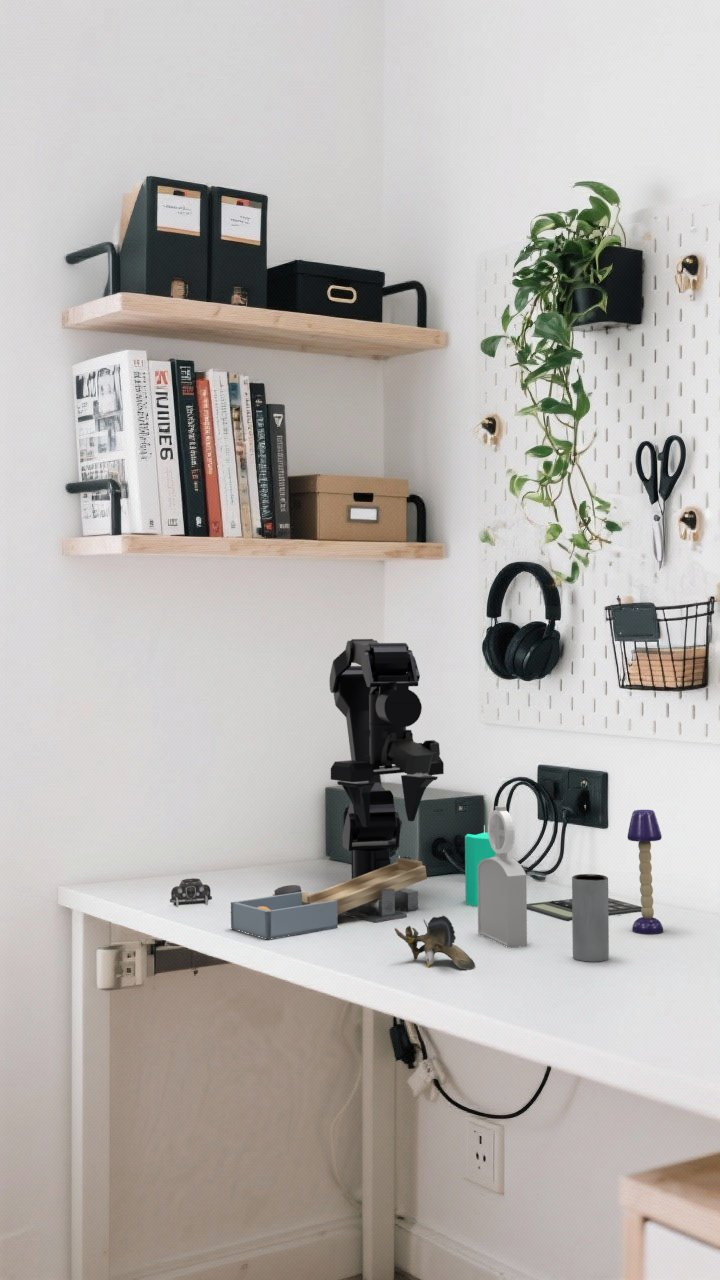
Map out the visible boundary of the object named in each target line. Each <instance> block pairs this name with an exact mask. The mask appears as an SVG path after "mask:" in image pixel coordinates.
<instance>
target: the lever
mask: <svg viewBox="0 0 720 1280" xmlns="http://www.w3.org/2000/svg"><path fill="white" fill-rule="evenodd" d="M427 879H428V876H427V871H426V865H423V861H420V860H416V859H411V858H405V857H399V858H397V861H395V862H393V863H391V864H390V865H388V866H385V867H382V868H380V869H377V870H375V871H372V872H369V873H367V874H364V875H361V876H359V877H356V878H354V879H352V878H351V879H349V880H346V882H345V881H343V882H340V883H338V884H336V885H332V886H330V887H327V888H325V889H322V890H320V891H317V892H315V893H309V892H305V891H302V889H301V888H302V887H301V885H297V884H288V885H283V886H280V887H278V888H276V889H275V890H274V893H272V894H271V896H277V895H283V894H290V893H297V892H302V905H308V904H314V903H321V902H327V901H333V900H336V901H337V915H341V914H340V913H342V912H345V911H347V910H350V909H352V908H355V907H357V906H360V905H362V904H365V903H367V902H370V901H372V900H375V899H377V898H378V890H384V889H395V891H397V890H400V889H402V888H405V889H406V888H407V887H410V886H412V885H414V884H417V883H420V882H422V881H425V880H427Z"/></svg>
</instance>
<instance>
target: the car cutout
mask: <svg viewBox="0 0 720 1280" xmlns="http://www.w3.org/2000/svg"><path fill="white" fill-rule="evenodd" d="M170 897H171V898H170V899H169V903H171V904H172V903H173V905H174V906H176V907H177V908H179V906H187V905H198V904H199V905H202V904H206V905H207V906H208V905H209V901H211V900H213V896H211V887H210V886H209V885H208V884H203V882H202V880H201V879H200V878H193V877H191V878H185V879H182V880H181V881H180V883H179V884H178V885H176V886H174V887H173V888H172V889H171V892H170Z"/></svg>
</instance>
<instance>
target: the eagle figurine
mask: <svg viewBox="0 0 720 1280" xmlns="http://www.w3.org/2000/svg"><path fill="white" fill-rule="evenodd" d="M423 923H424V925H425V927H426V933H424V934H420V935H419V932H418V931H417V929H416V928H414V927H411V925H408V926H407V927H406V928H405V932H404V933H405V935H404V933H402V932H401V931H399V929H398V928H396V927H394V931H395V933H396V936H398V938H400V939H402V940H404V941H405V943H407V945H408V947H409V948H410V949H411V953H412V955H413V960H414V961H416V960H418V957H419V955H420V954H422V953H424V954H425V958H426V959H425V961H426V966H425V968H426V967H428V968H430V966H431V965H433V963H434V961H435V960H434V959H435V954H436V953H441V954H444V955H446V956H447V957H449V958H450V959H451V960H452V961H453V963H454V965H456V966H457V968H458V969H463V970H465V971H466V970H468V971H472V970H474V969H475V968H476V963H475V961H474V960H473V959H472V958H471V957H470V956H469V955H468V954H467V953H466V951H465V950H463V949H462V948H461V947H459V946H458V945H455V940H456V935H455V933H456V931H455V930H454V929H455V928H454V926H453V924H452V923H453V922H452V921H451V920H450V919H449V918H448V917H447V916H446V915H441V916H438V917H437V916H436V917H435V916H433V917H432V918H430V920H429V921H428V922H427V921H426V919H425V918H423ZM419 942H420V943H424V944H423V945H421V946H420V947H419V948H418V947H417V946H418V943H419Z"/></svg>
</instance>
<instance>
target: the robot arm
mask: <svg viewBox="0 0 720 1280" xmlns="http://www.w3.org/2000/svg"><path fill="white" fill-rule="evenodd" d="M352 664H357V665H352ZM420 677H421V674H420V671H419V667H418V663H417V661H416V657H415V656H414V653H413V651H412V650H411V649H409V645H408V643H406V642H378V640H376V639H375V640H374V639H373V638H351V640H347V642H346V646H345V650H343V651H342V652H341V653H339V655H338V656H337V657H336V658H334V659H333V661H332V664H331V669H330V675H329V681H328V682H329V691H330V693H331V694H333V698H334V699H333V700H334V705H335V707H336V708H337V709H338V710H339V711H340V712H341V713H342V715H343V716H344V717H345V720H346V727H347V737H348V743H349V744H348V745H349V753H350V760H341V761H340V760H338V761H334V762H333V763H332V765H331V767H330V780H332V781H337V785H338V786H342V788H343V790H344V792H345V793H346V795H347V796H348V799H349V800H350V805H349V808H348V809H347V813H346V817H345V820H344V826H343V831H342V834H341V835H342V846H343V848H344V849H345V850H346V851H348V852H350V853H351V854H350V855H351V857H350V858H351V860H350V861H351V879H354V878H356V877H359V876H361V875H364V874H367V873H369V872H372V871H375V870H377V869H380V868H382V867H385V866H388V865H390V864H392V863H391V858H390V856H391V855H390V854H391V849H394V850H398V849H399V848H400V840H401V839H400V836H401V835H400V834H401V831H402V825H403V821H402V819H401V818H400V814H399V812H398V811H396V807H395V800H394V799H395V798H394V794H393V793H392V791H391V789H387V790H386V788H384V787H383V784H382V779H381V775H383V776H384V775H390V774H391V775H393V774H401V776H400V778H401V785H402V792H403V793H402V794H403V799H404V808H405V814H406V818H407V821H408V822H414V821H415V819H416V817H417V815H418V811H419V808H420V804H421V801H422V799H423V796H424V795H425V794H424V793H425V791H426V790H427V789H426V788H427V787H429V785H430V784H431V783H432V782H434V781H436V780H438V777H439V776H440V775H444V774H445V773H444V771H445V770H444V767H445V765H444V761H443V759H442V758H441V756H440V755H441V750H440V743H439V742H438V741H436V740H435V739H431V740H430V739H429V740H428V739H427V740H424V742H415V741H414V739H413V738H414V737H413V735H414V734H413V732H412V729H407V727H410V726H412V725H414V724H415V723H416V722H417V721H418V720H419V719H420V717H421V714H422V711H423V710H422V706H423V705H422V702H421V699H420V698H419V696H418V694H416V693H415V692H414V691H412V690H411V689H410V687H419V681H420ZM403 773H405V774H403ZM402 774H403V775H402ZM437 775H439V776H437ZM353 841H354V842H353ZM346 881H347V880H346ZM346 881H344V882H346Z"/></svg>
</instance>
